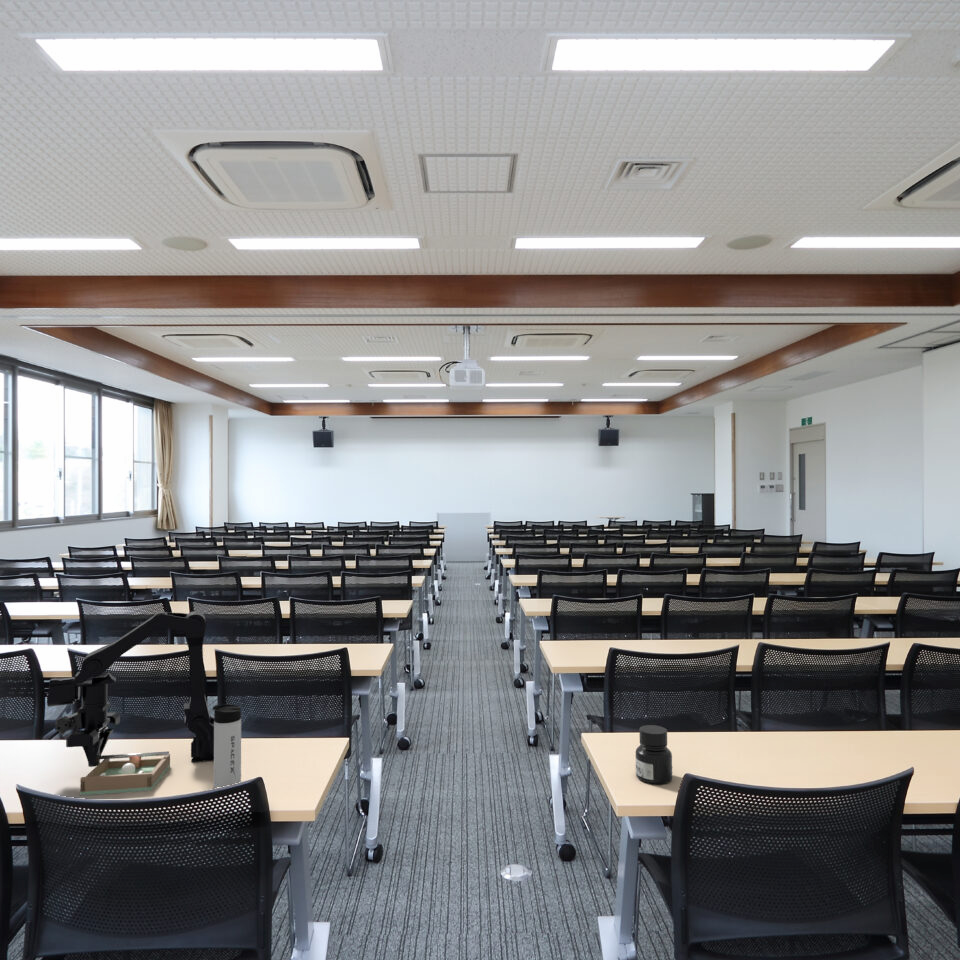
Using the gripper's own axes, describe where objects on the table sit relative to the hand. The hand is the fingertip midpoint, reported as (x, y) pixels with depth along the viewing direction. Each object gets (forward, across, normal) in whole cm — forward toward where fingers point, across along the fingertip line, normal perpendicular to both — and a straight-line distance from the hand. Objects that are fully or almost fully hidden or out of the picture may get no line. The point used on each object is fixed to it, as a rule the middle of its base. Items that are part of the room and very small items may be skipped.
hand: (94, 762), depth 173 cm
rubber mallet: (+2, 0, +8) cm, 9 cm away
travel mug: (+3, +15, +36) cm, 39 cm away
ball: (+1, +5, +10) cm, 11 cm away
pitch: (+3, +6, +10) cm, 12 cm away
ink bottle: (+3, +27, +141) cm, 144 cm away
